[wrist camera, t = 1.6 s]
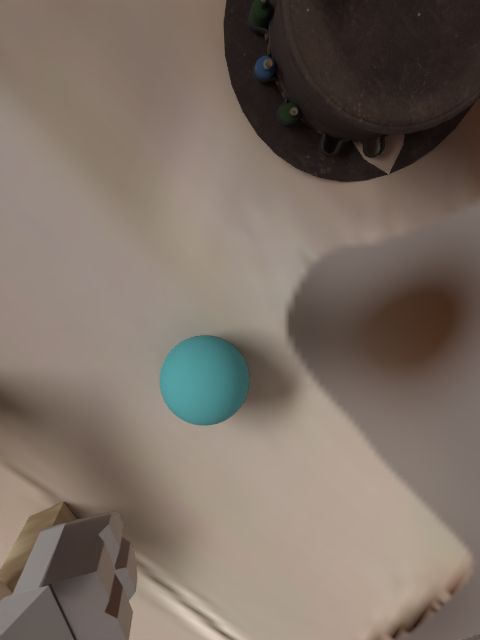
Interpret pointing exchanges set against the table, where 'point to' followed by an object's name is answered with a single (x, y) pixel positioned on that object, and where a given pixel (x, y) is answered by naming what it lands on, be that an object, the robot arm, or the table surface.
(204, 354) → the ball
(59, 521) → the bridge
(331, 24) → the top hat
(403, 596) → the table surface
